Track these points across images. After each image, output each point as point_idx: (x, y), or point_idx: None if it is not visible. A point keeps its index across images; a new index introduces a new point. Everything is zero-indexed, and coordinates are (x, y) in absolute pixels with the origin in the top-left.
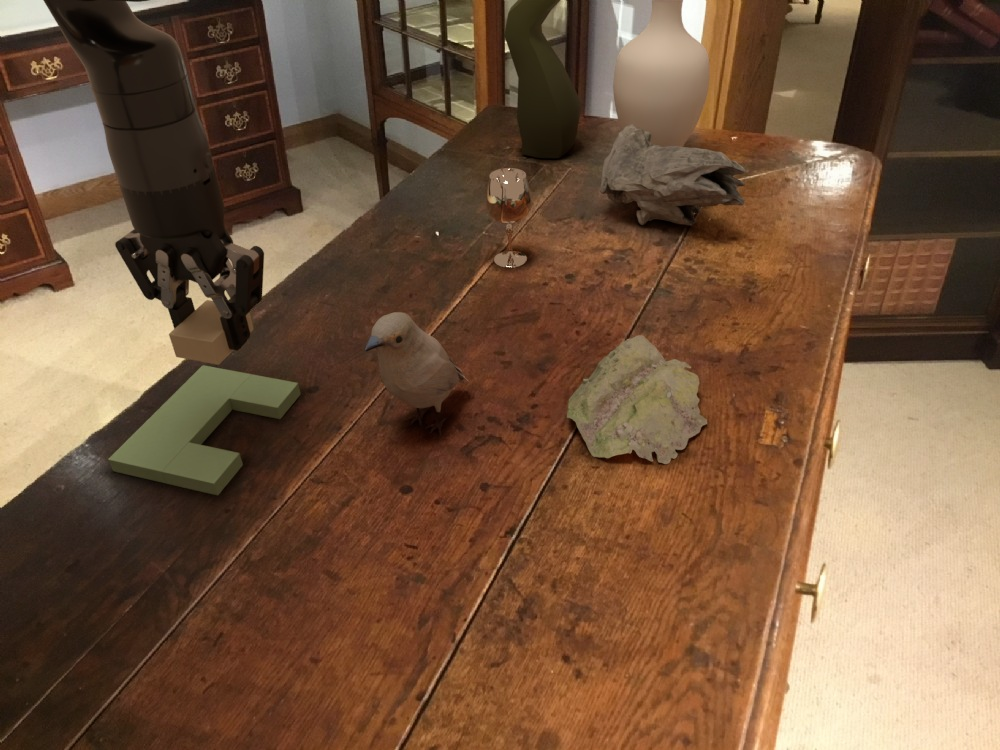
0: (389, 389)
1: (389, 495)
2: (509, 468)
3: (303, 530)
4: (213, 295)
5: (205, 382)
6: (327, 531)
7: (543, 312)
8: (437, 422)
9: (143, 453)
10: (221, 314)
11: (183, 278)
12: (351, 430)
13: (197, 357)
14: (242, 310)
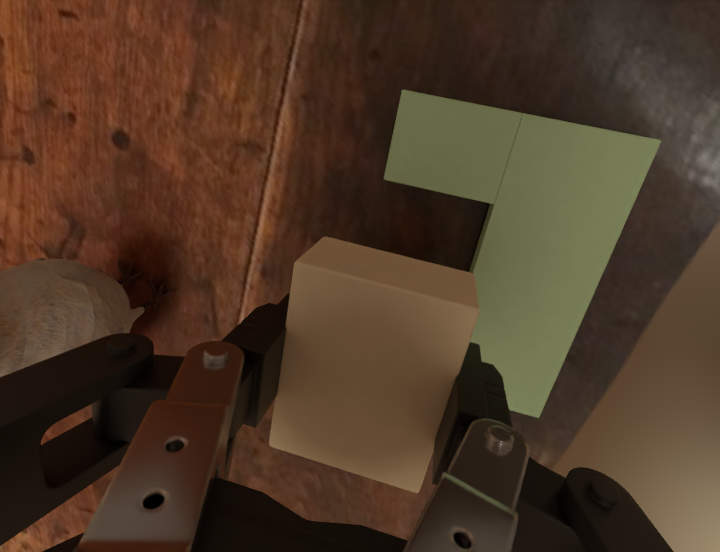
0: (61, 260)
1: (138, 124)
2: (14, 195)
3: (231, 24)
4: (174, 401)
5: (517, 371)
6: (194, 28)
7: (92, 495)
8: (123, 279)
9: (582, 165)
10: (240, 355)
11: (344, 536)
12: (244, 267)
13: (389, 255)
14: (110, 341)
